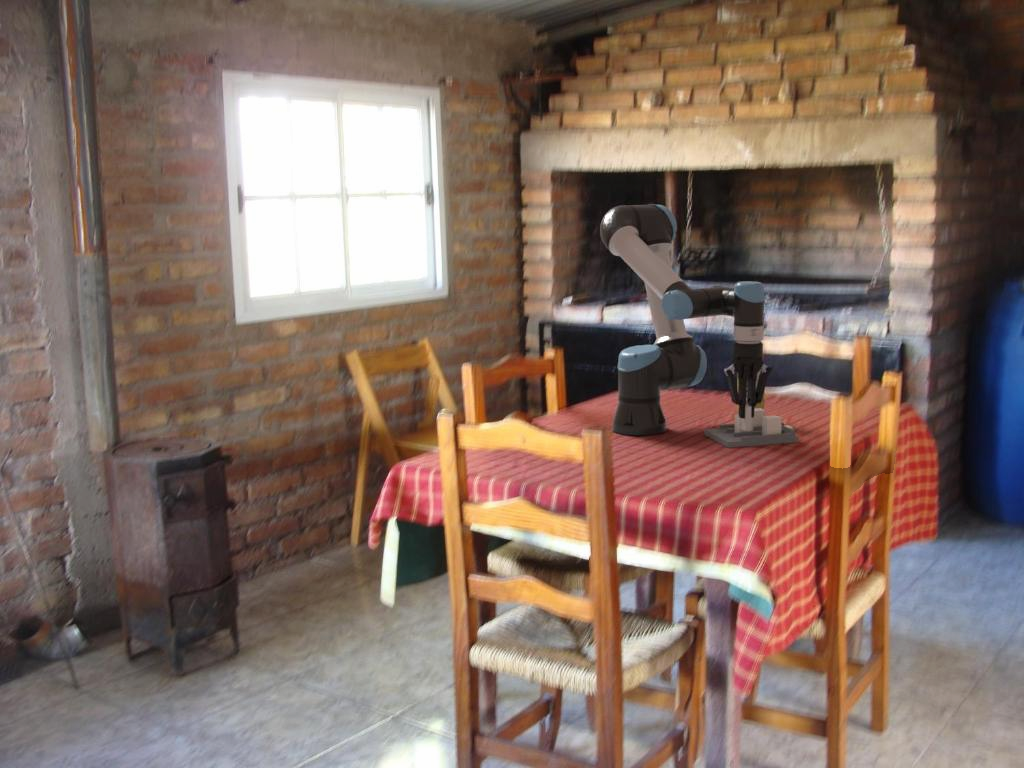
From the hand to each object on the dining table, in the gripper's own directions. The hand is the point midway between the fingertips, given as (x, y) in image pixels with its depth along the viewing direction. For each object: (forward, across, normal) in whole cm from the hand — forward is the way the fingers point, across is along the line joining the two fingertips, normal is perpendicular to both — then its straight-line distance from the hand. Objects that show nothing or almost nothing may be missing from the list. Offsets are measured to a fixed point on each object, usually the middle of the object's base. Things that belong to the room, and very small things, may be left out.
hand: (746, 429), depth 290 cm
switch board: (+4, +4, +4) cm, 7 cm away
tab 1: (+2, +2, +4) cm, 5 cm away
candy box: (+4, +12, +22) cm, 26 cm away
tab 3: (+2, +7, -1) cm, 7 cm away
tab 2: (+2, +7, +9) cm, 12 cm away
